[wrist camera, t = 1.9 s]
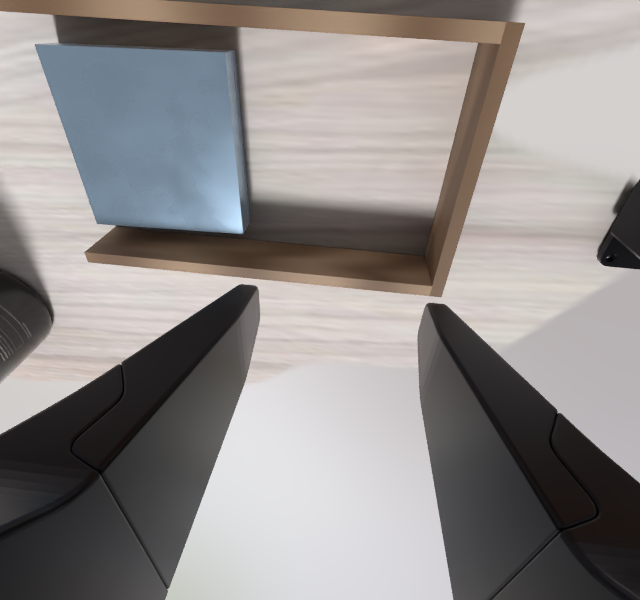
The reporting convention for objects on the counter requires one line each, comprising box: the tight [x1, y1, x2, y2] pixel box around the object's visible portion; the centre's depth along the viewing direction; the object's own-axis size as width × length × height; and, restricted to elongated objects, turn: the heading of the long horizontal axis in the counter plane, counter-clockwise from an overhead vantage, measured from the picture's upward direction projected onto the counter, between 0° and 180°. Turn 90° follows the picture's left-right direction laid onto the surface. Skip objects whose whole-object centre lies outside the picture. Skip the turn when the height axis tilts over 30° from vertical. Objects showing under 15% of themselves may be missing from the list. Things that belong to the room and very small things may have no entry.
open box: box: [0, 0, 525, 297], centre depth 17 cm, size 19×11×3 cm, turn 87°
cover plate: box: [35, 43, 250, 234], centre depth 18 cm, size 8×8×2 cm
